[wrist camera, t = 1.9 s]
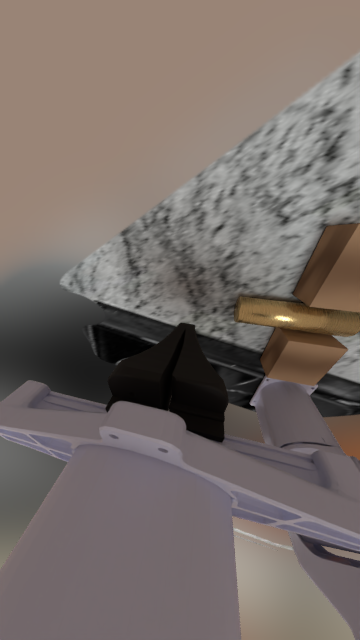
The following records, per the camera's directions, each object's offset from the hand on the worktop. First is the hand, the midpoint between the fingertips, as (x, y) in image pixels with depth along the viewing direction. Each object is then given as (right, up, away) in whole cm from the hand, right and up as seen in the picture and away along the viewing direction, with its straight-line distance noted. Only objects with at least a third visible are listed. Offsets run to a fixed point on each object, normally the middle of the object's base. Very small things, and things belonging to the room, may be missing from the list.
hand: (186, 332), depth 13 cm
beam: (+16, +2, +5) cm, 16 cm away
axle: (+13, +2, +5) cm, 14 cm away
